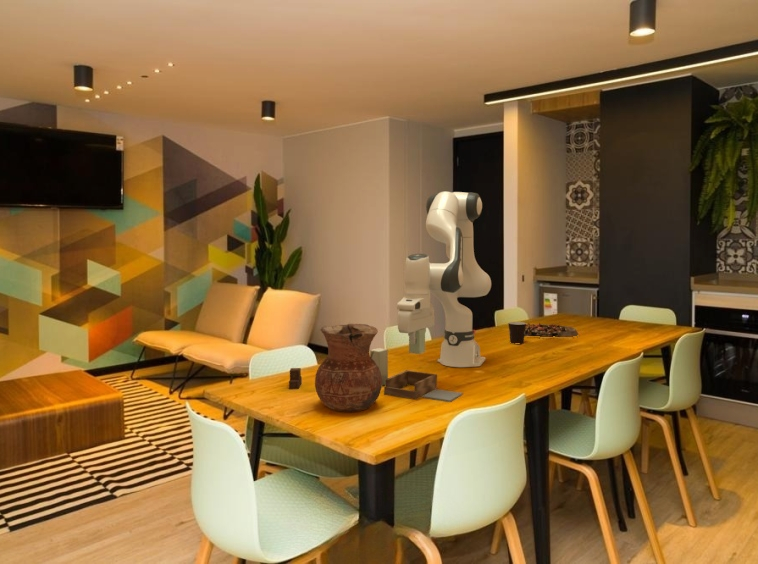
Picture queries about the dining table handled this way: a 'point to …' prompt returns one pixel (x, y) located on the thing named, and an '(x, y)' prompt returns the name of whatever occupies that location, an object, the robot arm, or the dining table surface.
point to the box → (381, 362)
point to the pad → (442, 395)
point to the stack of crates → (295, 378)
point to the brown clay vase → (348, 369)
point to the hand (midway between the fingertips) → (417, 342)
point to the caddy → (418, 379)
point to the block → (418, 343)
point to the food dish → (550, 330)
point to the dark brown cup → (517, 332)
